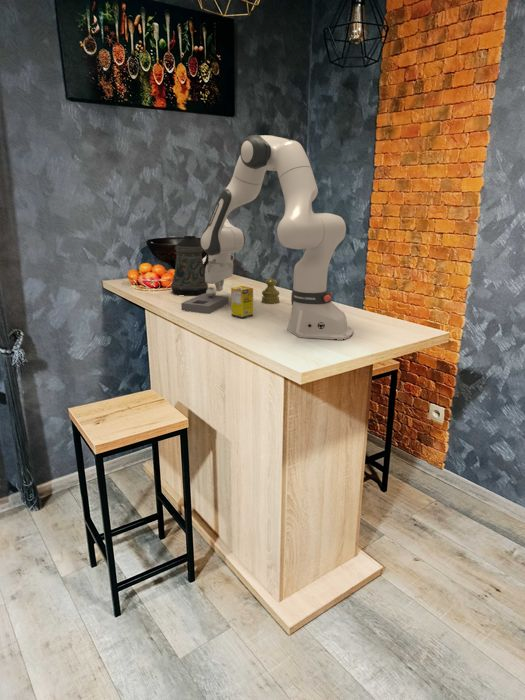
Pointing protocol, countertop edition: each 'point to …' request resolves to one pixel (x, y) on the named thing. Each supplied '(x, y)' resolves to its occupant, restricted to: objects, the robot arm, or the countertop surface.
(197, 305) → the hole board
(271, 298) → the olive tiered figure
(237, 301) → the supplement box
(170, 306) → the countertop surface
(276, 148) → the robot arm
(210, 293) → the steel ball
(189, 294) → the beer stein
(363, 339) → the countertop surface
